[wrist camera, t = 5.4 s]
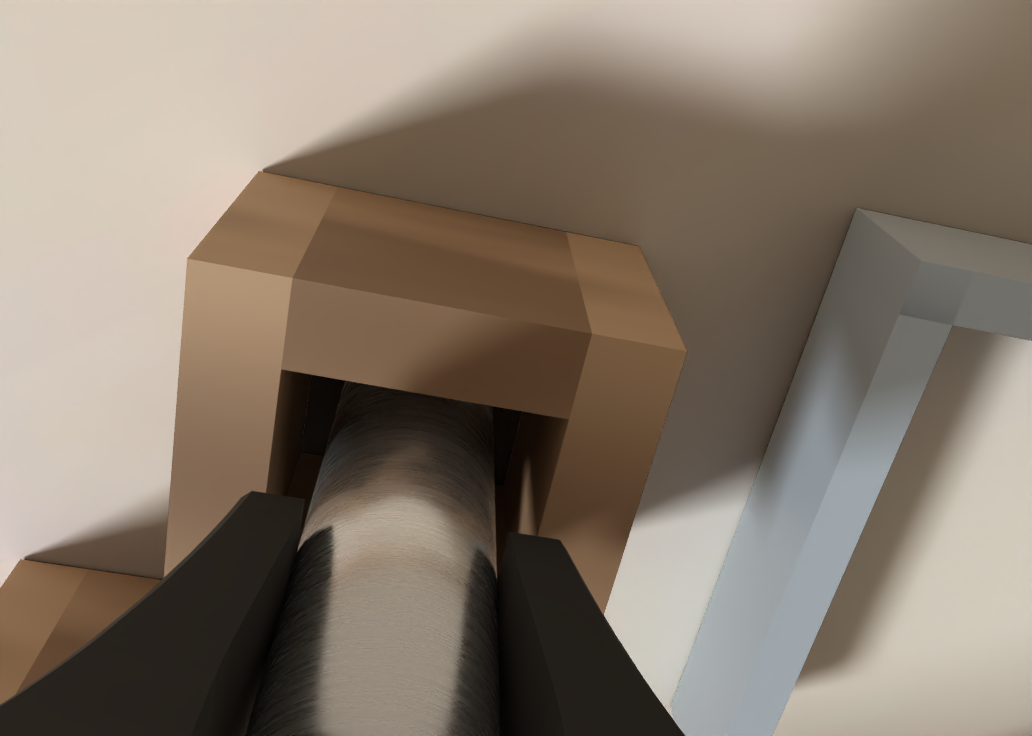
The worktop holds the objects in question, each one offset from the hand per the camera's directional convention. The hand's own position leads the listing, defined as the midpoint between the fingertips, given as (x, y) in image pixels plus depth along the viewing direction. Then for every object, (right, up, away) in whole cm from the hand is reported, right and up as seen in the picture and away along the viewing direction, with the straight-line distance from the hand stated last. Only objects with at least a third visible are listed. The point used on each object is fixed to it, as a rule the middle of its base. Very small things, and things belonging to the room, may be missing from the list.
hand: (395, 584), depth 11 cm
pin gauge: (0, +2, +4) cm, 5 cm away
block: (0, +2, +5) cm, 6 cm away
